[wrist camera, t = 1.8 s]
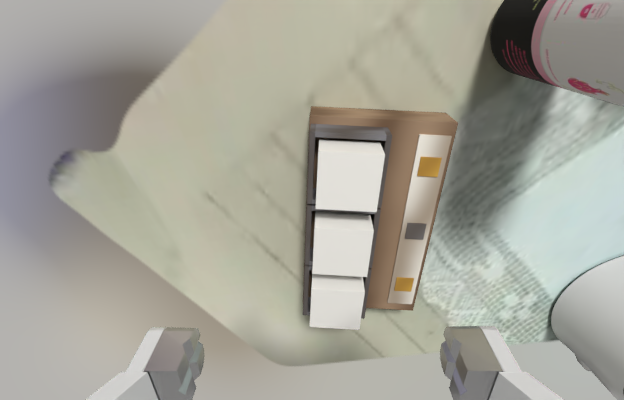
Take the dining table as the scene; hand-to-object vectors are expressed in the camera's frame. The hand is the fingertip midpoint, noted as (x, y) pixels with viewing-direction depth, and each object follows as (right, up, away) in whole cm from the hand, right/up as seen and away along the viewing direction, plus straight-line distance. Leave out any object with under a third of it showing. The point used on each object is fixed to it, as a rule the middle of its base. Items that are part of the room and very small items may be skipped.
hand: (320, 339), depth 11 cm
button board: (+5, +4, +21) cm, 22 cm away
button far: (+2, -4, +20) cm, 21 cm away
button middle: (+2, +2, +17) cm, 18 cm away
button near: (+2, +7, +14) cm, 16 cm away
